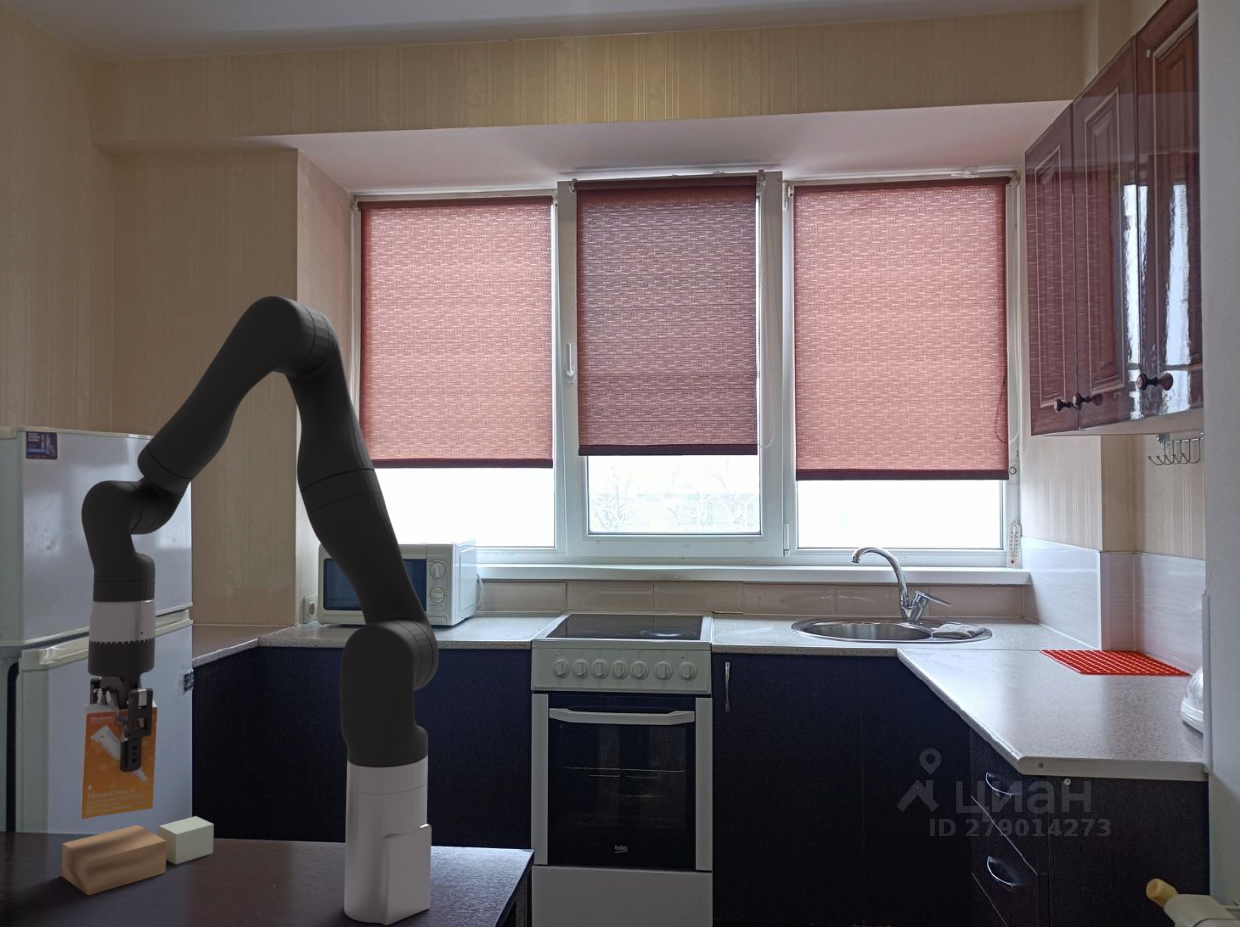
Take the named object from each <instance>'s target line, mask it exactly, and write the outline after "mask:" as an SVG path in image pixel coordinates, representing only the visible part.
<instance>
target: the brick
mask: <svg viewBox="0 0 1240 927" xmlns="http://www.w3.org/2000/svg"><path fill="white" fill-rule="evenodd" d="M214 826H215V824H214V823H212V822H209V821H208V820H205V819H203V818H201V817H198V816H197V815H195V816H191V817H188V818H184V819H180V820H176V821H172V822H169V823H164V824H161V825H159V826H158V836H159V837H161V838H163V839H164V840H166V841H167V845H166V861H168V862H170V863H172V864H174V865H178V864H182V863H185V862H189V861H192V860H194V859H195V860H196V859H199V858H202V857H205V856H208V855H212V854H213V853H214V834H215V833H214V832H215V830H214Z"/></svg>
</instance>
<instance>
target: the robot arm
mask: <svg viewBox="0 0 1240 927" xmlns="http://www.w3.org/2000/svg"><path fill="white" fill-rule="evenodd" d="M272 372H273V373H279V374H281V375H282V374H283V375H284V376H285V377H286V379H287V382H288V383H289V387H290V388H291V391H292V394H293V398H294V400H295V404H296V406H297V409H298V412H299V417H300V426H301V428H300V439H299V446H298V452H297V458H296V459H297V461H296V479H297V484H298V488H299V493H300V495H301V499H302V502H303V505H304V508H305V511H306V514H307V518H308V521H309V523H310V526H311V528H312V531H313V532H314V534H315V536H316V538H317V539H318V541H319V542H320V544H321V546H322V548H324V550H325V551H326V553H327V554H328V555H329V557H330V558H331V559H332V561H333V562H334V563H335V564H336V566H337V567H338V568H339V569H340V571H341V572H342V573H343V575H344V576H345V578H346V579H347V580H348V582H349V584H350V585H351V587H352V589H353V591H354V594H355V595H356V597H357V600H358V604H359V606H360V609H361V613H362V616H363V620H364V623H365V624H364V626H361V627H360V628H358V629H357V630H355V631H354V632H353V633H352V634H351V635H350V637H348V639H347V640H346V642H345V644H344V647H343V650H342V653H341V659H340V665H339V666H340V667H339V704H340V706H339V708H340V728H341V734H342V737H343V740H344V742H345V744H346V748H347V757H346V758H347V760H346V761H347V763H346V764H347V766H346V769H347V770H346V801H345V802H346V804H345V805H346V806H345V809H346V810H345V845H344V846H345V848H344V849H345V852H344V853H345V856H344V857H345V859H344V903H343V904H344V905H343V906H344V907H343V909H344V910H343V911H344V913H345V915H346V916H347V917H348V918H349V919H352V920H355V921H358V922H364V923H373V924H374V923H376V924H377V923H378V924H382V925H384V926H389V925H392V924H394V923H396V922H399V921H401V920H403V919H406V918H409V917H410V916H414V915H416V914H418V913H421V912H423V911H425V910H428V909H430V908H431V882H432V881H431V879H432V877H431V876H432V874H431V871H432V869H431V868H432V867H431V866H432V826H431V824H429V823H427V822H428V820H427V819H428V818H427V817H428V816H427V813H428V809H427V808H428V807H427V806H428V803H427V802H428V769H429V766H428V761H429V760H428V759H429V757H428V756H429V755H428V754H429V738H428V737H429V735H428V733H427V731H426V729H424V727H422V726H419V725H418V724H417V722H416V718H415V691H418V690H420V689H422V688H424V687H425V686H426V685H427V684H428V683H430V681H431V680H432V679H433V678H434V676H435V674H436V672H437V669H438V666H439V662H440V661H439V660H440V659H439V657H440V656H439V655H440V654H439V652H440V650H439V644H438V640H437V637H436V635H435V632H434V630H433V628H432V626H431V623H430V620H429V619H428V616H427V614H426V612H425V610H424V607H423V605H422V603H421V601H420V598H419V597H418V594H417V592H416V590H415V587H414V584H413V582H412V580H411V578H410V576H409V572H408V569H407V568H406V564H405V561H404V558H403V555H402V550H401V549H400V545H399V542H398V539H397V535H396V532H395V530H394V526H393V524H392V520H391V518H390V515H389V511H388V508H387V505H386V500H385V497H384V494H383V491H382V488H381V487H382V486H381V485H380V482H379V478H378V476H377V473H376V469H375V466H374V464H373V462H372V459H371V457H370V454H369V450H368V447H367V444H366V441H365V438H364V434H363V432H362V429H361V425H360V422H359V419H358V416H357V413H356V411H355V407H354V405H353V401H352V398H351V394H350V388H349V385H348V379H347V376H346V370H345V366H344V360H343V356H342V351H341V347H340V342H339V339H338V336H337V332H336V329H335V327H334V326H333V324H332V321H331V320H330V319H329V318H328V317H327V316H326V315H325V314H324V313H323V312H321V311H319V310H318V309H316V308H314V307H311V306H309V305H307V304H304V303H301V302H299V301H296V300H294V299H292V298H288V297H285V296H280V295H268V296H264V297H262V298H259V299H257V300H255V301H254V302H253V303H252V304H251V305H250V306H249V307H248V308H247V309H246V310H245V311H244V313H243V314H242V315H241V316H240V318H239V319H238V321H237V322H236V324H235V325H234V326H233V327H232V329H231V331H230V333H229V334H228V336H227V338H226V339H225V341H224V342H223V344H222V346H221V347H220V348H219V350H218V352H217V353H216V355H215V356H214V358H213V359H212V361H211V362H210V364H209V365H208V367H207V368H206V370H205V372H204V373H203V375H202V377H201V378H200V379H199V381H198V382H197V384H196V385H195V388H194V389H193V390H192V392H191V393H190V395H189V396H188V397H187V398H186V400H185V401H184V402H183V404H182V405H181V406H180V407H179V408H178V410H177V411H176V412H175V413H174V414H173V415H172V417H170V418H169V420H168V421H167V422H165V424H164V425H163V426H162V427H161V428H160V429H159V431H158V432H157V433H156V434H155V435H153V437H152V438H151V439H150V440H149V441H148V442H147V443H146V444H145V445H144V447H143V449H142V450H141V451H140V452H139V454H138V457H137V461H136V462H137V463H136V464H137V467H138V470H139V472H140V473H141V474H142V477H141V478H140V479H139V480H137V481H135V480H132V481H131V480H117V479H116V480H113V479H111V480H102V481H99V482H98V483H95V484H94V485H93V486H91V488H90V489H89V490H88V491H87V492H86V494H85V496H84V499H83V501H82V505H81V512H80V513H81V514H80V515H81V516H80V517H81V524H82V529H83V533H84V537H85V541H86V544H87V549H88V553H89V554H88V555H89V557H90V560H91V563H92V568H93V571H94V572H93V582H92V583H93V589H92V590H93V591H92V604H91V605H92V606H91V611H90V616H89V627H88V631H89V632H88V650H87V651H88V652H87V653H88V656H87V673H88V674H89V675H90V676H94V677H92V678H90V682H89V704H99V705H105V704H106V705H109V706H110V708H111V709H112V710H114V724H115V725H116V726H118V727H119V731H120V737H121V741H122V742H121V753H120V770H121V771H123V772H131V771H135V770H138V769H140V767H141V747H142V740H141V739H144V738H145V737H146V736H150V735H151V728H152V706H153V700H154V690H153V688H152V687H148V688H143V687H142V679H141V676H142V675H143V674H144V673H149V672H151V671H152V670H153V669H154V668H155V657H156V656H155V655H156V654H155V652H156V650H155V649H156V625H157V624H156V623H157V614H156V613H157V612H156V605H155V592H156V565H155V564H156V563H155V560H154V559H153V558H152V557H151V556H150V555H147V554H145V553H140V552H137V550H136V548H135V545H134V542H133V538H132V537H133V536H134V535H135V536H136V535H137V536H138V535H147V534H151V533H154V532H156V531H158V530H160V529H161V528H162V527H163V526H165V525H166V524H167V523H168V522H169V521H170V520H171V519H172V517H173V516H174V514H175V513H176V510H177V509H178V507H179V505H180V503H181V501H182V499H183V497H185V494H186V491H187V489H188V487H189V485H190V483H191V482H192V481H193V480H194V479H196V477H197V476H198V475H199V474H200V473H201V472H202V471H203V470H204V469H205V468H206V466H207V465H209V463H211V462H212V461H213V459H214V458H215V457H216V455H217V454H218V453H219V452H220V451H221V449H222V448H223V446H224V445H225V443H226V440H227V439H228V437H229V434H230V431H231V428H232V426H233V423H234V419H235V414H236V412H237V410H238V409H239V407H240V405H241V402H242V401H243V400H244V398H245V397H246V396H247V394H248V393H249V392H250V391H251V390H252V389H253V388H254V387H255V386H256V385H257V384H259V383H260V382H261V381H262V380H263V379H264V378H266V377H267V376H268V375H269V374H271V373H272ZM139 707H141V708H139ZM119 709H120V710H124V709H128V715H127V716H122V715H121V714H120V710H119ZM143 719H144V725H143ZM135 721H136V722H137V728H135ZM126 723H127V725H126Z"/></svg>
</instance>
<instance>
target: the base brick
mask: <svg viewBox="0 0 1240 927" xmlns="http://www.w3.org/2000/svg"><path fill="white" fill-rule="evenodd" d="M166 845H167V841H166V840H164V839H163V838H161V837H159V835H157V834H155V833H154V832H151V831H150V830H148V829H146V828H145V827H143V826H140V824H139V825H138V824H136V825H131V826H127V827H124V828H119V829H115V830H111V831H107V832H102V833H100V834H95V835H92V836H91V835H90V836H88V837H83V838H79V839H75V840H70V841H66V842H63V843H62V848H61V849H62V850H61V851H62V852H61V873H60V874H61V877H62V878H64V879H66V881H68V882H69V883H70V884H72V885H74V886H75V887H76V888H77V889H79V890H80V891H82V892H83V893H84V894H85V895H87V896H92V895H94V894H98V893H101V892H104V891H108V890H112V889H115V888H118V887H121V886H125V885H129V884H131V883H134V882H139V881H143V880H145V879H150V878H151V877H152V878H153V877H157V876H159V875H162V874H163V875H164V874H165V873H167V872H166V871H167V860H166Z"/></svg>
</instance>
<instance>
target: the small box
mask: <svg viewBox="0 0 1240 927" xmlns="http://www.w3.org/2000/svg"><path fill="white" fill-rule="evenodd" d="M82 708H83V709H82V727H81V728H82V729H81V748H80V750H81V751H80V765H79V766H80V769H79V791H78V792H79V794H78V795H79V796H78V806H79V814H80V819H81V820H85V819H89V818H96V817H102V816H104V817H105V816H110V815H116V814H125V813H131V812H132V813H133V812H140V811H147V810H153V808H154V802H155V801H154V800H155V798H154V797H155V782H156V781H155V778H156V775H155V774H156V755H157V736H158V735H157V734H158V732H157V731H158V730H157V728H158V706H157V704H156V702H155V700H154V699H153V706H152V728H151V735H150V736H146V737H145V738H144V739H141V740H142V747H141V767H140V769H138V770H135V771H131V772H123V771H121V770H120V753H121V742H122V741H121V737H120V731H119V727H118V726H116V725H115V724H114V710H112V709H111V708H110V706H109V705H106V704H105V705H99V704H90V703H89V704H83V707H82ZM139 708H141V707H139ZM119 710H120V709H119ZM120 714H121V715H122V716H127V715H128V709H124V710H120ZM126 725H127V723H126ZM143 725H144V719H143ZM135 728H137V722H136V721H135Z"/></svg>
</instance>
